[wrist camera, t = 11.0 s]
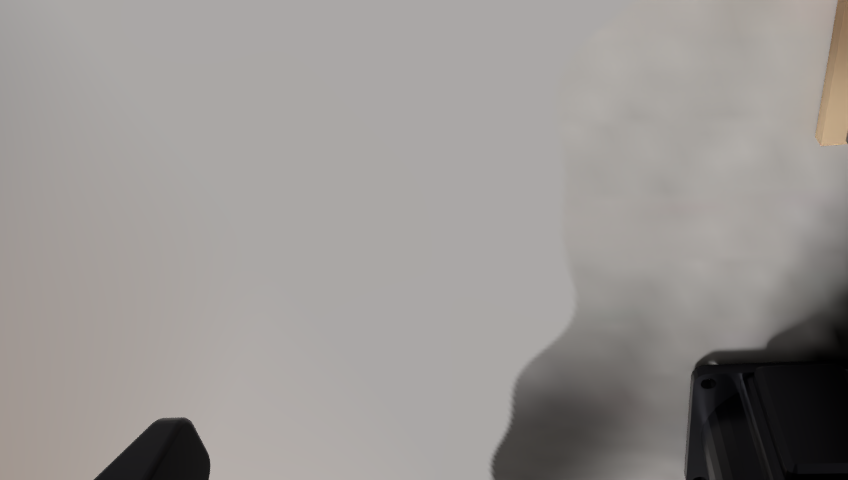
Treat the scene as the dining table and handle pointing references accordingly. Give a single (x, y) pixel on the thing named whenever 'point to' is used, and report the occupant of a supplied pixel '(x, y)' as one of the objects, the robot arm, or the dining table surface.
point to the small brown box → (835, 85)
